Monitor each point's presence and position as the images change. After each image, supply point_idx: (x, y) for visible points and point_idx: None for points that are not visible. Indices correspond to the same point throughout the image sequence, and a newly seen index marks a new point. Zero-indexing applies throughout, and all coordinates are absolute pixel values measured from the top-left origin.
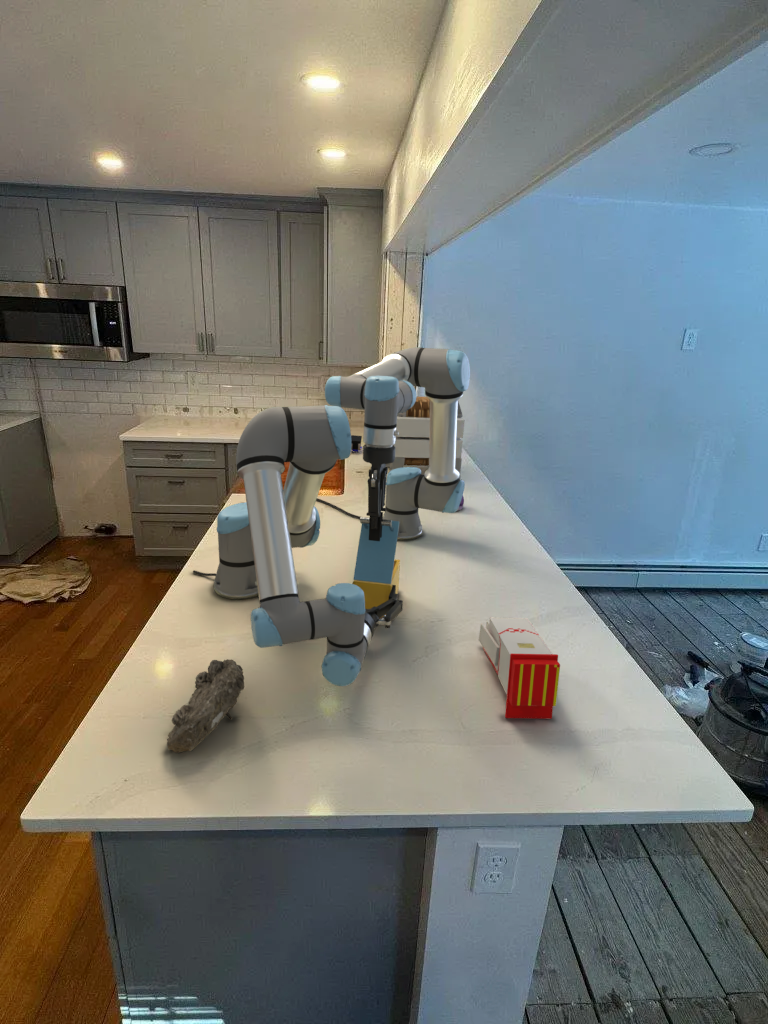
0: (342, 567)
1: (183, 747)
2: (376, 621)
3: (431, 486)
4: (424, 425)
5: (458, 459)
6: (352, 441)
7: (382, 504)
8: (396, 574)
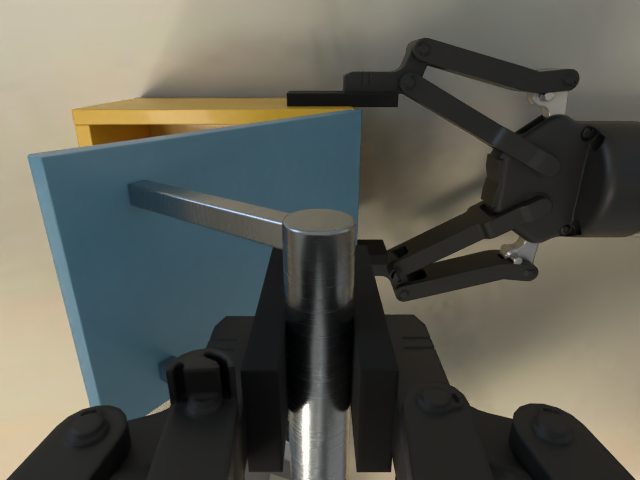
0: (45, 313)
1: None
2: (576, 121)
3: None
4: None
5: None
6: None
7: (227, 465)
8: (189, 106)
